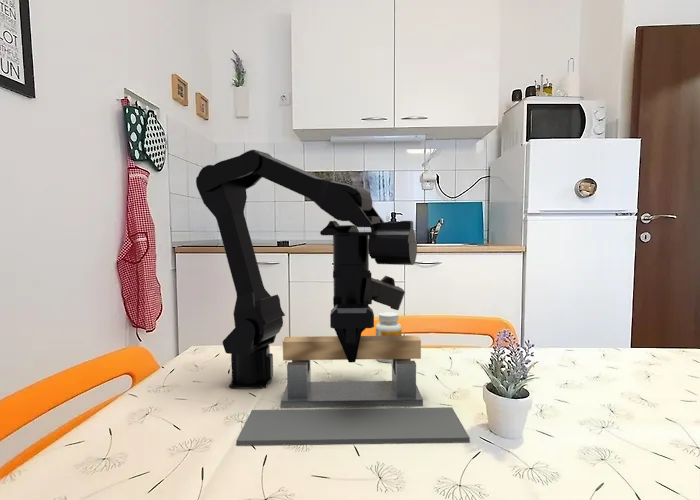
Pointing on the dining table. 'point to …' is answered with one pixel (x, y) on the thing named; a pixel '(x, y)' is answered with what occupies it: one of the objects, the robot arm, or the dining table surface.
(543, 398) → the dining table surface
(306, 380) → the cradle stand
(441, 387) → the dining table surface
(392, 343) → the oak bar
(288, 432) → the rubber mat
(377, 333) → the supplement bottle
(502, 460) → the dining table surface
